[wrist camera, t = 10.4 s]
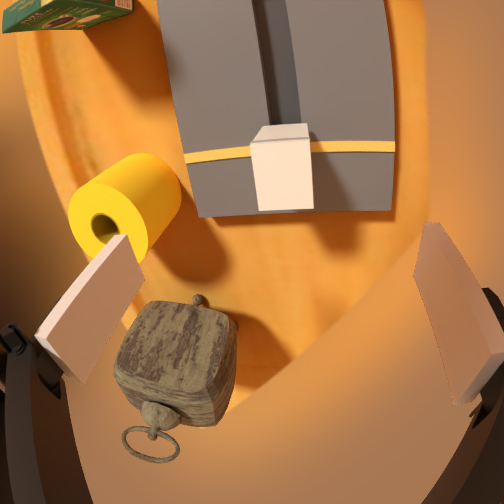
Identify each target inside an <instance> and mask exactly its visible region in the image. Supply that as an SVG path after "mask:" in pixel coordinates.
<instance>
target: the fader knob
mask: <svg viewBox="0 0 504 504" xmlns="http://www.w3.org/2000/svg"><path fill="white" fill-rule="evenodd" d="M250 151H251V158H252V165H253V172H254V179H255V186H256V193H257V200H258V208H259V211H268V210H290V209H314V193H313V175H312V159H311V145H310V137H309V133H308V126H307V123H299V124H283V125H270V126H263V127H262V128H261V129H260V131H259V132H258V134H257V135H256V137H255V138H254V140H253V141H251V142H250Z"/></svg>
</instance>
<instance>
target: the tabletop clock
mask: <svg viewBox="0 0 504 504" xmlns="http://www.w3.org/2000/svg"><path fill="white" fill-rule="evenodd" d="M193 303H194V305H189V304H182V303H175V302H168V301H151V302H150V303H148V304H147V305H146V306H145V307H144V308H143V309H142V310H141V312H140V313H139V314H138V316H137V318H136V319H135V321H134V322H133V324H132V325H131V327H130V329H129V330H128V332H127V334H126V336H125V338H124V340H123V343H122V345H121V347H120V350H119V352H118V354H117V357H116V360H115V364H114V378H115V379H116V381H117V383H118V384H119V386H120V388H121V389H122V391H123V393H124V394H125V396H126V398H127V399H128V401H129V402H130V403H131V404H132V405H133V406H134V407H135V408H136V409H138V410H140V412H141V416H142V417H143V420H144V421H145V422H146V423H147V424H148V425H150V426H151V428H150V427H144V426H133V427H131V428H128V429H126V430H125V431H124V432H123V434H122V443H123V445H124V447H125V448H126V449H127V450H128V451H129V452H130V453H131V454H132V455H134V456H136V457H138V458H140V459H142V460H145V461H148V462H153V463H167V462H170V461H172V460H174V459H175V458H176V457H177V456H178V455H179V452H180V448H179V445H178V443H177V442H176V441H175V439H174V438H172V437H171V436H169V435H168V434H166V433H164V432H162V431H160V430H163V431H167V430H170V429H173V428H175V427H176V426H178V425H179V424H183V425H188V426H195V427H209V426H216V425H217V423H218V422H219V421H220V420H221V419H222V417H223V415H224V414H225V412H226V409H227V407H228V404H229V401H230V398H231V395H232V392H233V389H234V382H235V374H236V348H237V331H238V328H239V326H238V324H237V323H234V321H233V320H232V319H231V318H229V317H228V316H227V315H225V314H224V313H222V312H219V311H216V310H212V309H208V308H203V307H198V305H201V304H202V303H203V297H202V296H201V295H199V294H197V295H195V296H194V297H193ZM132 431H144V432H147V433H149V434H148V438H149V439H150V440H156V439H157V436H160V437H163V438H165V439H167V440H168V441H170V442H172V444H173V445H174V446H175V447H176V452H175V453H174V454H173V455H171V456H169V457H166V458H155V457H150V456H147V455H143V454H141V453H139V452H137V451H134V450H133V449H132V448H131V447H130V446H129V445H128V443H127V442H126V435H127V433H128V432H132Z"/></svg>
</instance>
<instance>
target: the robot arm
mask: <svg viewBox="0 0 504 504" xmlns="http://www.w3.org/2000/svg"><path fill="white" fill-rule="evenodd" d="M414 279H415V281H416V284H417V286H418V289H419V292H420V294H421V297H422V300H423V302H424V305H425V308H426V311H427V314H428V316H429V319H430V322H431V325H432V328H433V331H434V334H435V337H436V341H437V344H438V347H439V351H440V354H441V357H442V361H443V364H444V368H445V372H446V376H447V380H448V383H449V387H450V391H451V396H452V400H453V405H454V406H455V405H459V404H463V403H468V402H472V401H473V400H474V399H475V398H476V396H477V395H478V394H479V393H481V397H482V401H481V402H480V404H479V405H478V406H477V407H476V408H475V409H474V410H473V411H472V412H471V414H470V415H469V417H472V416H473V415H474V414H475V415H474V417H473V419H472V421H471V423H470V425H469V427H468V429H467V431H466V433H465V435H464V437H463V439H462V441H461V443H460V445H459V446H458V448H457V450H456V452H455V453H454V455H453V457H452V459H451V460H450V462H449V463H448V465H447V467H446V468H445V470H444V472H443V473H442V475H441V476H440V478H439V479H438V481H437V482H436V484H435V485H434V487H433V488H432V490H431V491H430V492H429V494H428V495H427V497H426V498H425V499H424V501H423V502H422V504H500V503H501V504H504V307H503V305H502V303H501V301H500V299H499V298H498V296H497V295H496V294H495V293H494V292H492V290H490V289H489V288H481V287H480V286H479V284H478V282H477V280H476V279H475V277H474V275H473V273H472V272H471V270H470V268H469V267H468V265H467V264H466V262H465V260H464V259H463V257H462V255H461V254H460V252H459V251H458V249H457V248H456V246H455V245H454V243H453V242H452V240H451V239H450V237H449V236H448V234H447V233H446V231H445V230H444V229H443V227H442V226H441V224H440V223H424V225H423V231H422V236H421V242H420V247H419V252H418V257H417V263H416V266H415V271H414ZM144 281H145V278H144V276H143V274H142V271H141V269H140V266H139V264H138V261H137V259H136V256H135V254H134V251H133V249H132V246H131V243H130V241H129V238H128V235H127V234H122V235H114V236H113V238H112V239H111V240H110V241H109V242H108V243H107V244H106V245H105V246H104V247H103V249H102V250H101V251H100V252H99V253H98V254H97V255H96V257H95V258H94V259H93V260H92V261H91V262H90V264H89V265H88V266H87V267H86V268H85V269H84V271H83V272H82V273H81V274H80V275H79V277H78V278H77V279H76V280H75V282H74V283H73V284H72V285H71V287H70V288H69V289H68V290H67V291H66V293H65V294H64V295H63V296H62V297H61V298H60V299H59V300H58V301H57V302H56V304H55V305H54V307H53V309H51V310H50V312H49V313H48V315H47V316H46V317H45V318H44V320H43V321H42V323H41V324H40V325H39V327H38V328H37V329H36V331H35V332H34V334H33V335H32V337H31V338H30V339H29V338H28V337H27V336H26V334H25V333H24V331H23V330H22V329H21V327H20V326H19V325H18V324H17V323H15V322H13V323H10V324H8V325H7V326H5V327H4V328H3V329H2V330H1V331H0V382H1V383H2V384H3V385H4V386H5V393H4V392H3V391H2V390H1V389H0V504H93V501H92V498H91V496H90V492H89V490H88V486H87V483H86V480H85V477H84V473H83V470H82V467H81V463H80V459H79V455H78V451H77V447H76V443H75V438H74V434H73V429H72V424H71V419H70V413H69V407H68V401H67V394H66V387H65V382H64V380H63V379H62V378H61V376H62V374H63V373H65V374H66V375H67V376H68V377H69V379H70V380H71V381H73V382H77V383H79V384H82V385H85V383H86V381H87V379H88V377H89V375H90V373H91V371H92V369H93V368H94V366H95V364H96V362H97V360H98V358H99V357H100V355H101V353H102V351H103V349H104V348H105V346H106V344H107V342H108V340H109V339H110V337H111V335H112V334H113V332H114V330H115V328H116V327H117V325H118V323H119V322H120V320H121V318H122V317H123V315H124V313H125V312H126V310H127V308H128V307H129V305H130V303H131V302H132V300H133V298H134V297H135V295H136V293H137V292H138V290H139V289H140V287H141V285H142V284H143V282H144ZM501 501H502V502H501Z"/></svg>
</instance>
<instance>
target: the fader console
mask: <svg viewBox="0 0 504 504" xmlns="http://www.w3.org/2000/svg"><path fill="white" fill-rule="evenodd" d="M157 7H158V14H159V21H160V27H161V33H162V40H163V46H164V52H165V58H166V63H167V69H168V75H169V80H170V86H171V91H172V96H173V102H174V107H175V112H176V117H177V122H178V127H179V132H180V136H181V141H182V146H183V151H184V159H185V163H186V164H187V169H188V173H189V178H190V182H191V187H192V191H193V195H194V200H195V204H196V208H197V212H198V216H199V218H205V217H220V216H237V215H256V214H277V213H302V212H335V211H391V206H392V193H393V176H394V152H395V117H394V89H393V73H392V61H391V51H390V42H389V34H388V26H387V20H386V13H385V7H384V2H383V0H157ZM299 123H307V126H308V133H309V137H310V145H311V159H312V175H313V193H314V209H290V210H268V211H259V208H258V200H257V193H256V186H255V179H254V172H253V165H252V158H251V151H250V142H251V141H253V140H254V138H255V137H256V135H257V134H258V132H259V131H260V129H261V128H262V127H263V126H270V125H283V124H299Z"/></svg>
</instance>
